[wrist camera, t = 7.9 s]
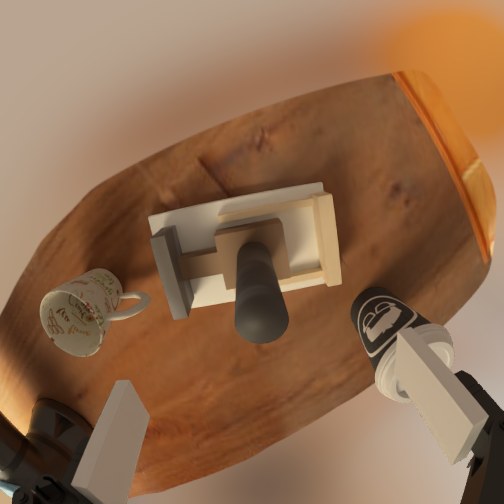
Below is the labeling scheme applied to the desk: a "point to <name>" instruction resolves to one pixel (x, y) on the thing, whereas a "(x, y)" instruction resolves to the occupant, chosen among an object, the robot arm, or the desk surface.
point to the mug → (86, 311)
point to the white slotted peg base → (259, 209)
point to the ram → (231, 274)
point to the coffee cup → (394, 336)
